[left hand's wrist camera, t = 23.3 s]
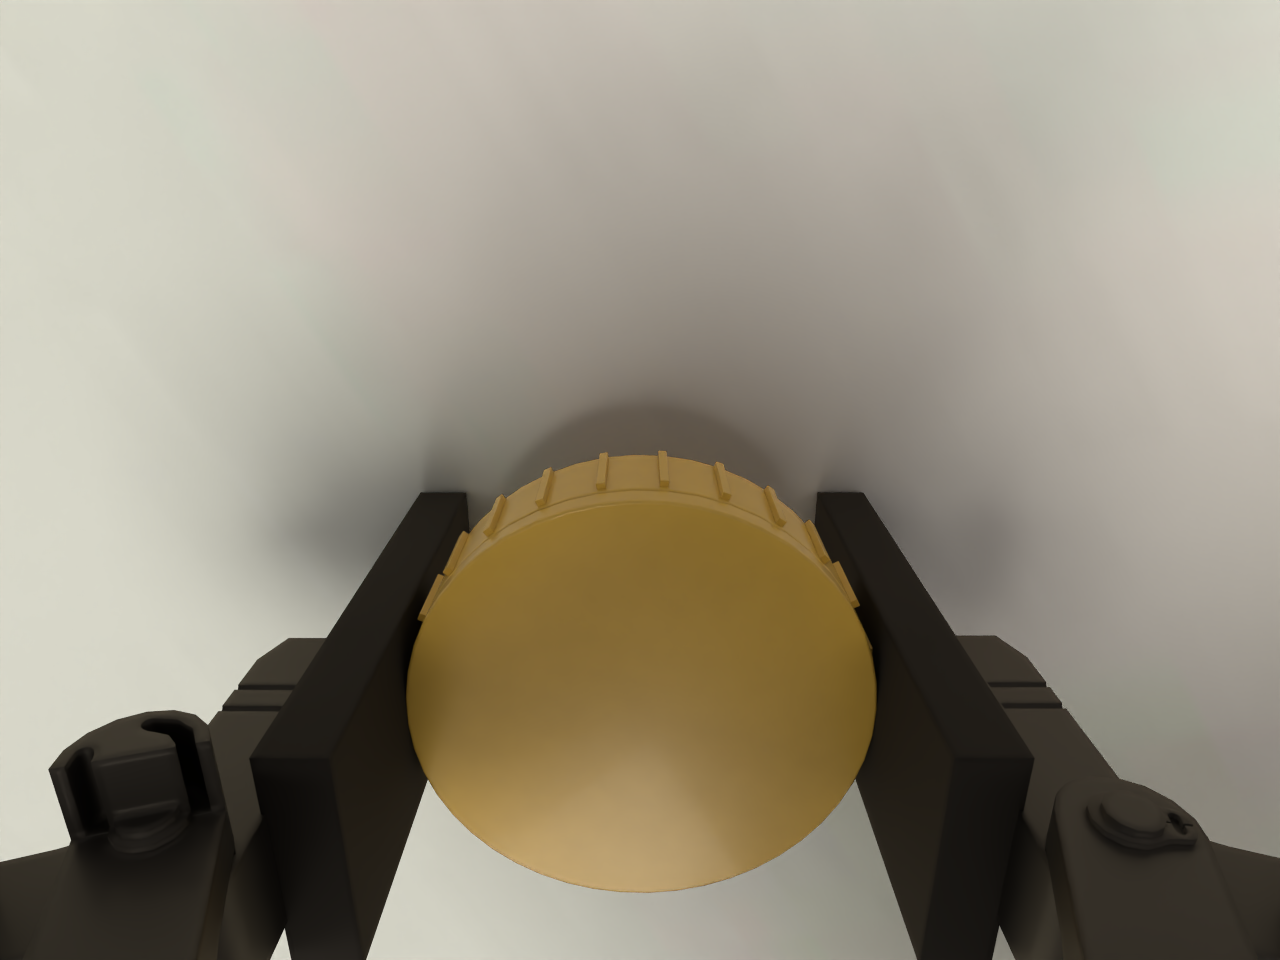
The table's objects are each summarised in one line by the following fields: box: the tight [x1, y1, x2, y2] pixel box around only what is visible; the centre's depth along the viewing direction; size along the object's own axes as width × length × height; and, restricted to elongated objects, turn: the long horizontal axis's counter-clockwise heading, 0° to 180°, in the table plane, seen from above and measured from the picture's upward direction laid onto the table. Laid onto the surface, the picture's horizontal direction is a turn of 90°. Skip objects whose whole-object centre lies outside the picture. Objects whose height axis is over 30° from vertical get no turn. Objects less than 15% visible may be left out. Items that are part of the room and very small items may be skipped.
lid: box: [406, 451, 877, 893], centre depth 11 cm, size 6×6×2 cm
